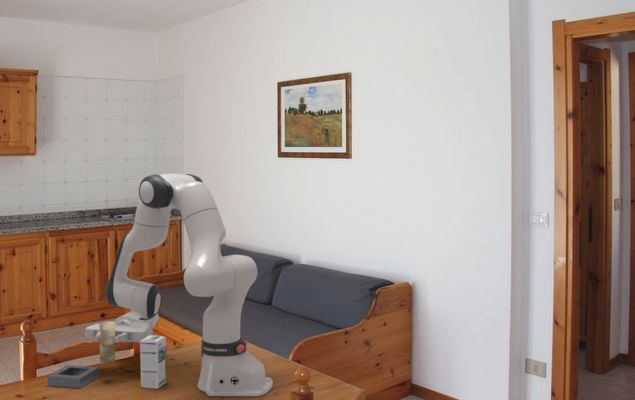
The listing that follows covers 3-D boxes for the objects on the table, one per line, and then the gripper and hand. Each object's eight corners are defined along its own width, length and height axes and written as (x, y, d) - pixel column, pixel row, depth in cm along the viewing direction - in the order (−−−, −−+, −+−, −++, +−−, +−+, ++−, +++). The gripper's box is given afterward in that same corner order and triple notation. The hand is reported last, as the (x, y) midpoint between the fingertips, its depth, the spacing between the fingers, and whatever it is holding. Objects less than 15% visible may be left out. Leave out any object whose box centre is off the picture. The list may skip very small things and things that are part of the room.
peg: (117, 359, 193) (117, 321, 192) (110, 364, 189) (110, 324, 188) (104, 358, 194) (104, 320, 193) (97, 363, 189) (96, 324, 189)
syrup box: (158, 389, 186) (158, 340, 185) (139, 387, 187) (139, 339, 186) (166, 382, 191) (166, 335, 190) (148, 381, 192) (148, 334, 192)
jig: (98, 376, 196) (98, 367, 196) (80, 388, 185) (80, 378, 185) (67, 374, 198) (67, 365, 197) (47, 386, 187) (47, 376, 187)
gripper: (97, 316, 205) (74, 327, 192) (156, 319, 202) (136, 331, 188) (98, 335, 206) (74, 347, 192) (156, 339, 202) (136, 351, 188)
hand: (105, 339), depth 190 cm, fingers closed on peg, 4 cm apart
